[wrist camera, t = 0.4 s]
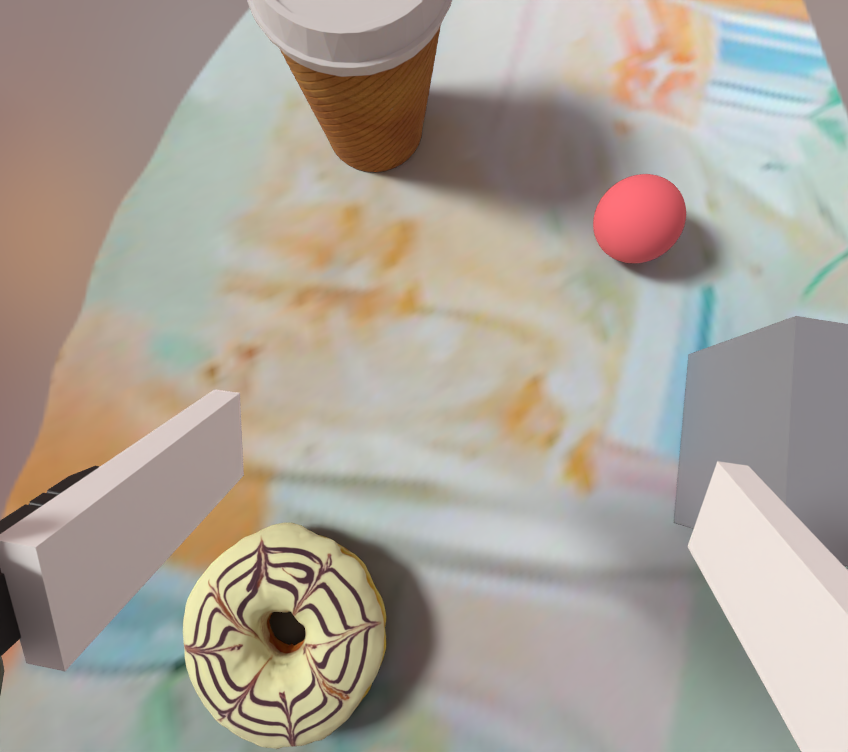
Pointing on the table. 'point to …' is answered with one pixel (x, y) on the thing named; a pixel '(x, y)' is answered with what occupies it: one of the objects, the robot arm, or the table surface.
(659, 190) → the ball
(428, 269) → the table surface
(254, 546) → the decorated donut
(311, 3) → the disposable coffee cup
